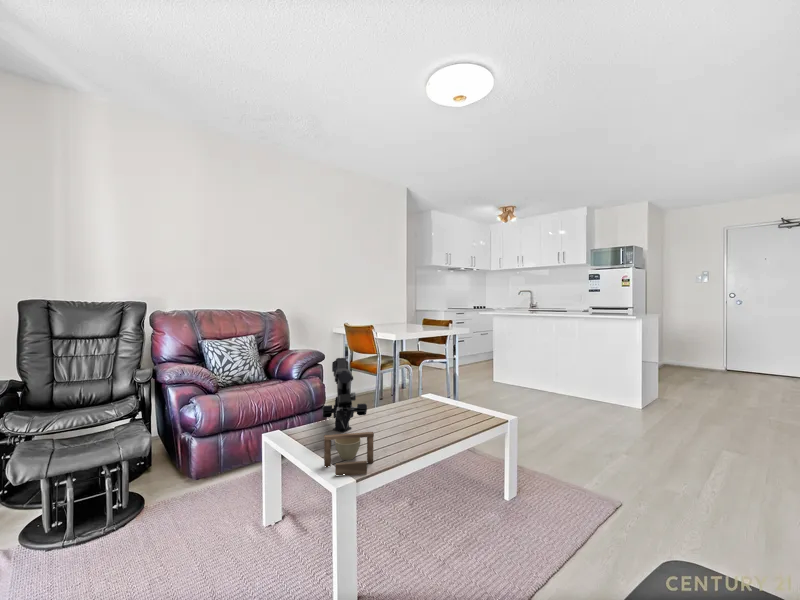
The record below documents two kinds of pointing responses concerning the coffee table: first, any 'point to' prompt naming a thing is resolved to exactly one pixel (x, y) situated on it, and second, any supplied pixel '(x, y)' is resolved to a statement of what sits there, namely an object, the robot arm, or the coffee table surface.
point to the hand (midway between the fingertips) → (345, 428)
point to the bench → (349, 467)
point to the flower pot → (347, 447)
